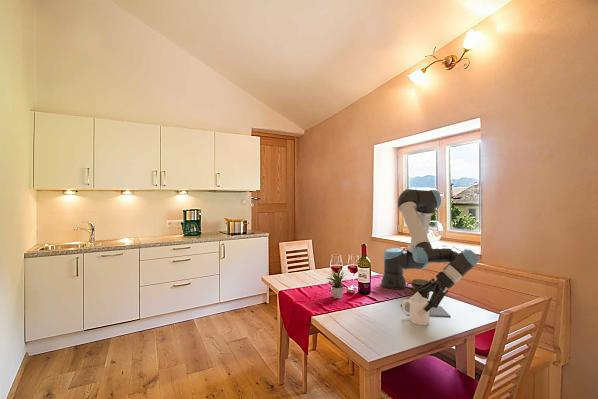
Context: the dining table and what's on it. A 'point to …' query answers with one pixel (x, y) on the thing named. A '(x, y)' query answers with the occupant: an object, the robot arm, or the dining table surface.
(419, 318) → the cup
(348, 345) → the dining table surface
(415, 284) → the ceramic cup
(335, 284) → the house plant
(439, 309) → the mat
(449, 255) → the robot arm
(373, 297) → the dining table surface
